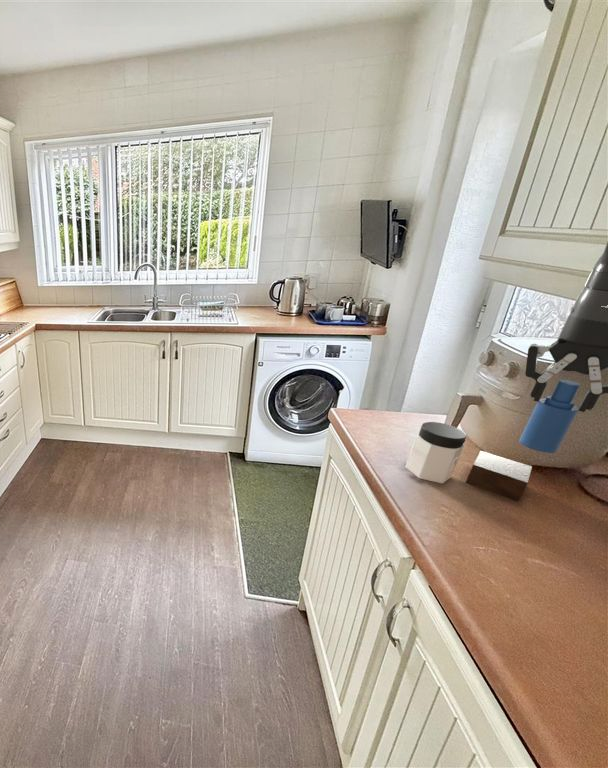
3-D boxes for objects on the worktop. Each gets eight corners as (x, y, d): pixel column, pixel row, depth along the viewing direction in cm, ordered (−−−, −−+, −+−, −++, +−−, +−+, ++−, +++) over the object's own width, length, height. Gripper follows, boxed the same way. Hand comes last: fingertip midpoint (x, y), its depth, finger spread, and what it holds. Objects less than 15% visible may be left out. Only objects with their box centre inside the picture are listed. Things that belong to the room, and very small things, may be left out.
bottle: (557, 446, 78) (591, 382, 73) (556, 456, 75) (591, 390, 70) (520, 435, 82) (550, 374, 77) (517, 445, 79) (548, 382, 73)
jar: (439, 487, 93) (457, 443, 88) (400, 470, 99) (414, 427, 94) (455, 475, 97) (473, 432, 92) (416, 459, 103) (431, 418, 99)
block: (523, 484, 94) (532, 466, 92) (518, 501, 88) (527, 482, 86) (473, 467, 100) (480, 450, 98) (465, 482, 95) (473, 464, 93)
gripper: (669, 319, 66) (616, 412, 72) (544, 306, 76) (508, 388, 82) (675, 328, 61) (618, 425, 68) (540, 312, 71) (503, 398, 78)
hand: (558, 404), depth 75 cm, fingers closed on bottle, 5 cm apart
